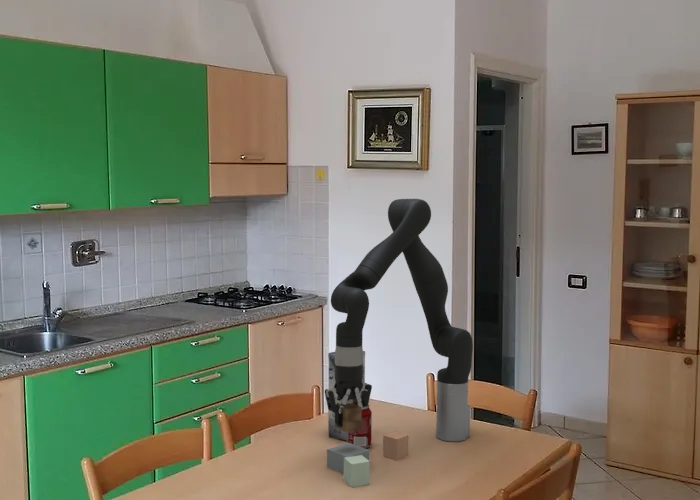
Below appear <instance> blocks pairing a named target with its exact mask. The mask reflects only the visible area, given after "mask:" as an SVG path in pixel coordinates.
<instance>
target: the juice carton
mask: <svg viewBox="0 0 700 500" xmlns="http://www.w3.org/2000/svg"><path fill="white" fill-rule="evenodd" d="M327 353H328V352H327ZM327 356H328V390H330V389H332V388H334V385H335V351H331V352H329V353H328V354H327ZM365 376H366V351H365V350H363V379H362V383H363V384H364V383H366V380H365V378H366V377H365ZM361 393H362V389H361V391H360V393H359V394H360V397H361ZM336 397H337V393H336V392H335V397H334V398H335V400H336ZM341 401H342V399H341ZM335 403H336V402H335ZM346 403H353V402H352V400H348V401H347V402H346ZM327 419H328V420H327V423H328V426H327V427H328V430H327V431H328V437H329V438H332V439H338V440H342V441H345V442H348V432H344V431H342V430H340V429H338V428H336V427H335V413H334V412H332V411H330V410H328V417H327Z"/></svg>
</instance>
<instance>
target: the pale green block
mask: <svg viewBox="0 0 700 500" xmlns="http://www.w3.org/2000/svg"><path fill="white" fill-rule="evenodd" d="M370 478H371V461H370V459H369V460H367V459H366V458H365V457H364V456H362V455H358V456H352V457H345V458H344V474H343V481H344V482H345V483H346V484H348V485H349V486H350V487H351V488H355V487H362V486H369V485H370V483H371V482H370V481H371V479H370Z"/></svg>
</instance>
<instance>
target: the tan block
mask: <svg viewBox="0 0 700 500" xmlns="http://www.w3.org/2000/svg"><path fill="white" fill-rule="evenodd" d="M382 436H383V437H382V440H383V442H382V444H383V445H382V457H384V458H388V459H391V460H394V461H399V460H402V459H404V458H406V457H408V456H409V436H410V435H409V434H406V433H403V432H398V431H390V432H389V433H386V434H383V435H382Z"/></svg>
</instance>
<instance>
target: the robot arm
mask: <svg viewBox="0 0 700 500" xmlns="http://www.w3.org/2000/svg"><path fill="white" fill-rule="evenodd" d="M431 217H432V210H431V207H430V205H429V203H428V202H427V201H426V200H424V199H420V198H400V199H394V200H392V201H391V203H390V204H389V205H388V209H387V218H388V223H389V225H390V228H391V230H392V233H390V235H388V236H387V237H386V238H385V239H384V240H381V242H379V243H378V244H376V245H375V246H374V247H373V248H372V249H371V250H370V251H368V252H367V253H366V254H365V256H364V257H363V259H362V260H361V262H360V263H359V264H358V265H357V267H356V268H355V270H354V271H353V272H352V273H350V274H349V275H347V277H345V278H344V279H343V280H342V281H340V282H339V284H337V286H336V287H335V288H334V289H333V291H332V293H331V297H330V305H331V307H332V309H334V311H336V312H338V313H342V314H343V313H344V314H347V315H346V318H345V321H343V322H340V323H338V324H337V325H336V328H335V351H334V352H335V385H334V388H332V389H330V390H329V388H328V389H327V388H326V389H325V390H324V395H325V396H324V397H325V401H326V405H327V409H328V410H330V411H332V412H334V413H335V424H336V425H337V426H338V427H342V426H343V414H342V411H343V408H344V406H345V405H346V402H347V401H348V400H352V402H353V404H356V405H357V406H360V407H362V409H363V408H364V407H367V406H368V405H369V402H370V398H371V393H372V388H373V386H372V384H369V383H367V382H365V383H364V384H363V383H362V379H363V351H364V350H363V331H364V326H365V324H366V319H367V316H368V312H369V308H370V307H369V306H370V300H369V296H368V293H367V292H366V291H367V290H373V289H374V288H375V287H376V286H377V285H378V284H379V283H380V281H381V280H382V278H383V277H384V276H385V274H386V273H387V271H388V269H389V268H390V267H391V266H392V265H393V263H394V262H395V261H396V260H397V258H398V257H399V256H400V255H401V254H402V255H403V256H404V259H405V262H406V264H407V267H408V270H409V273H410V275H411V280H412V282H413V286H414V288H415V291H416V293H417V295H418V299H419V302H420V304H421V307H422V310H423V312H424V314H423V315H424V316H425V320H426V325H427V329H428V332H429V333H428V334H429V337H430V340H431V341H430V342H431V344H432V347H433V350H434V351H435V353H437V354H438V355H439V356H442V357H445V358H448V359H447V366H446V367H442V368H440V369H439V370H438V371H437V373H436V377H437V378H436V418H435V419H436V421H435V425H436V429H435V431H436V432H435V436H436V438H437V439H439V440H442V441H446V442H461V441H465V440H467V438H470V435H471V434H470V431H471V428H470V427H471V406H470V404H469V376H470V373H471V371H472V363H473V362H472V360H473V346H474V343H473V338H472V335H471V333H470V332H469V331H468V330H466V329H465V328H464V329H463V328H459V327H456V326H453V325H451V323H450V321H449V319H448V318H449V317H448V315H447V311H446V302H447V297H448V294H449V286H448V285H449V284H448V281H447V278H446V274H445V272H444V270H443V267H442V265H441V263H440V262H439V260H438V259H437V258H436V256H435V255H434V254H433V253H432V251H430V249H429V248H427V246H426V245H425V244H424V243H423V241H422V240H421V238H420V235H421V233H422V232H424V230H425V229H426V228H427V226H429V224H430V222H431V219H432V218H431ZM361 389H362V393H361V397H360V394H359V393H360V391H361ZM335 392H336V393H337V397H336V400H335V398H334V397H335ZM341 399H342V401H341ZM335 402H336V403H335ZM361 419H362V416H361Z"/></svg>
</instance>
